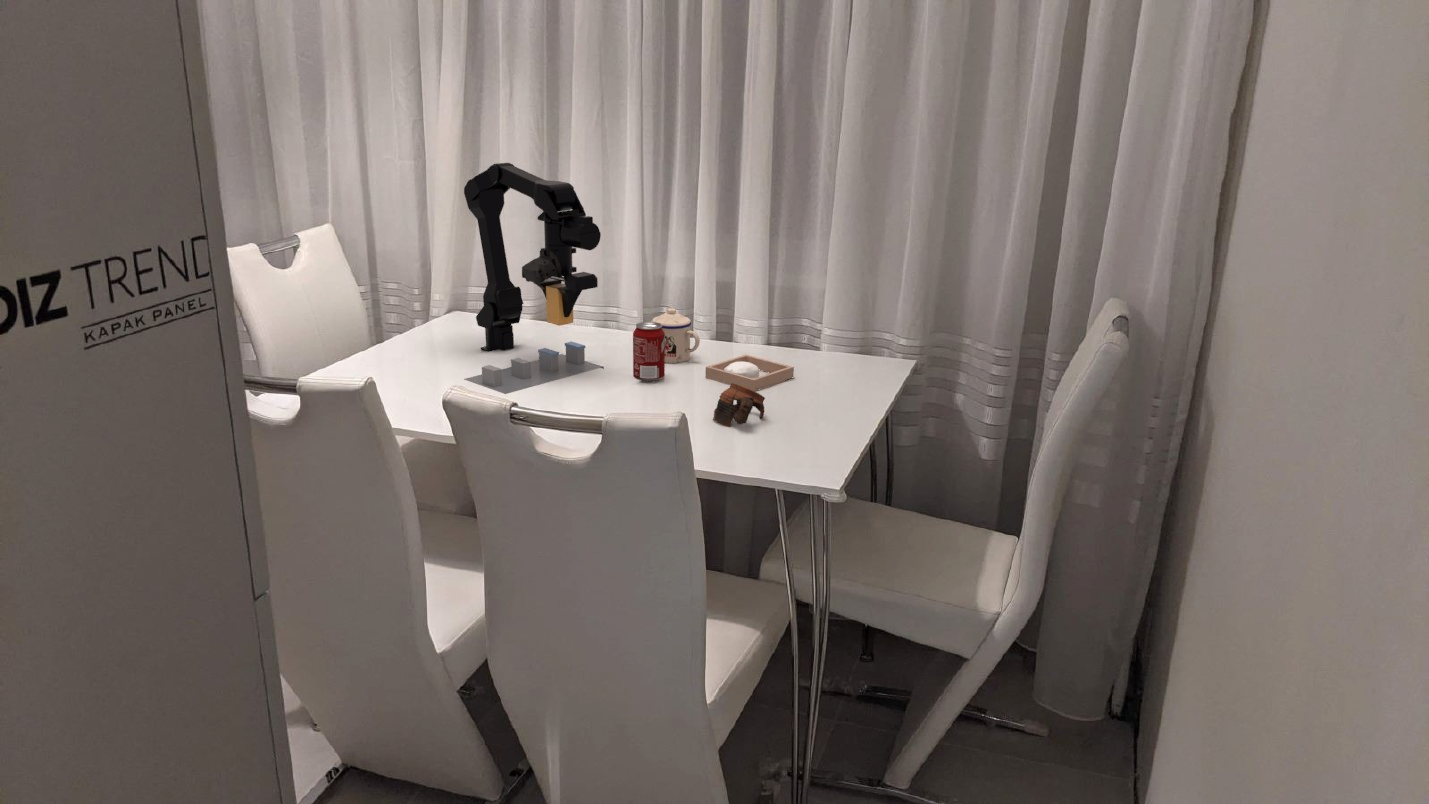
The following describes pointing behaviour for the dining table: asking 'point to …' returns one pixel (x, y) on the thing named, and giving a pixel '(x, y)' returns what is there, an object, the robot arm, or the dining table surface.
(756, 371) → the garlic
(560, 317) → the orange rectangular block
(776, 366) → the garlic dish
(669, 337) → the teacup with lid
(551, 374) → the grey board with pegs
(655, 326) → the soda can
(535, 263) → the robot arm
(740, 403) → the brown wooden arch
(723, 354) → the dining table surface
